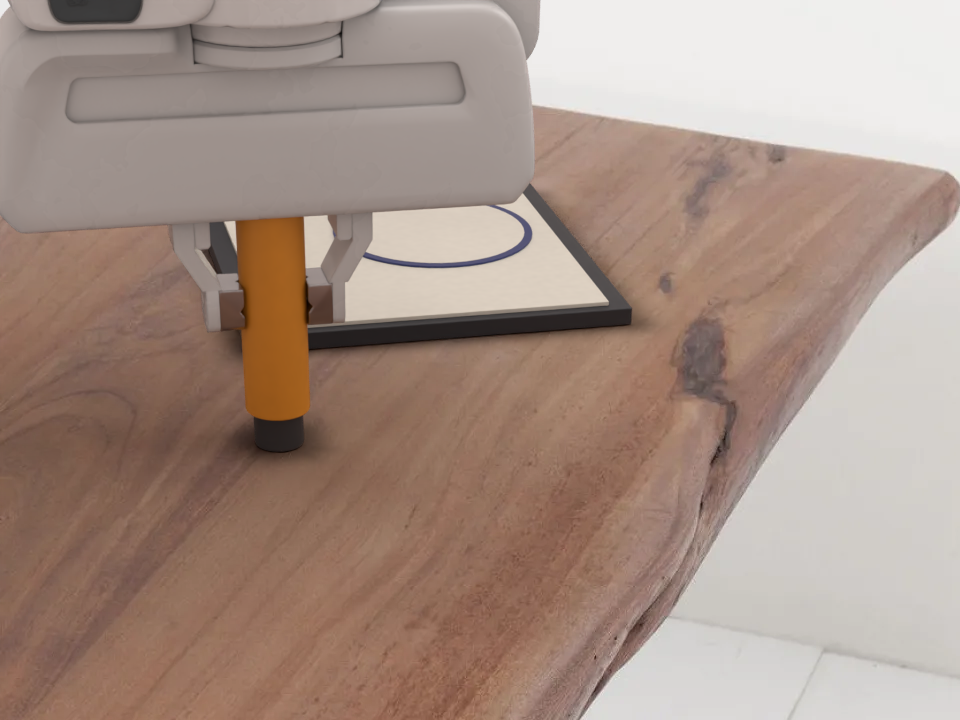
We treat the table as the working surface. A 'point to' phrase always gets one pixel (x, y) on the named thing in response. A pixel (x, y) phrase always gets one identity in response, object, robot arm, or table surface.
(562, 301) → the clipboard
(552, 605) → the table surface
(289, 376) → the marker
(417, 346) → the table surface
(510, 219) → the circle
